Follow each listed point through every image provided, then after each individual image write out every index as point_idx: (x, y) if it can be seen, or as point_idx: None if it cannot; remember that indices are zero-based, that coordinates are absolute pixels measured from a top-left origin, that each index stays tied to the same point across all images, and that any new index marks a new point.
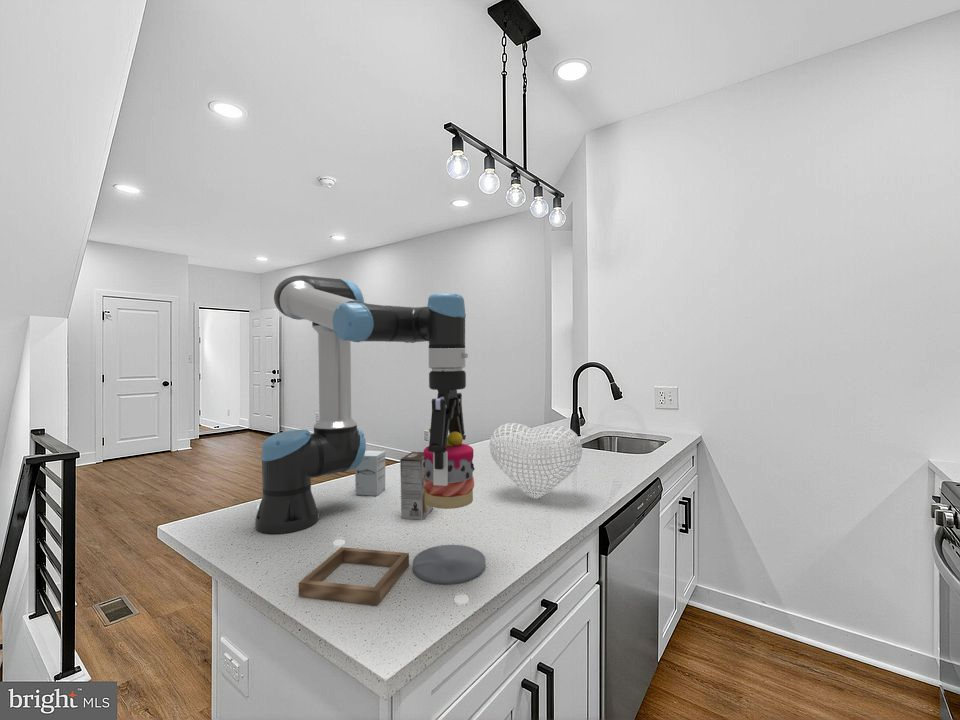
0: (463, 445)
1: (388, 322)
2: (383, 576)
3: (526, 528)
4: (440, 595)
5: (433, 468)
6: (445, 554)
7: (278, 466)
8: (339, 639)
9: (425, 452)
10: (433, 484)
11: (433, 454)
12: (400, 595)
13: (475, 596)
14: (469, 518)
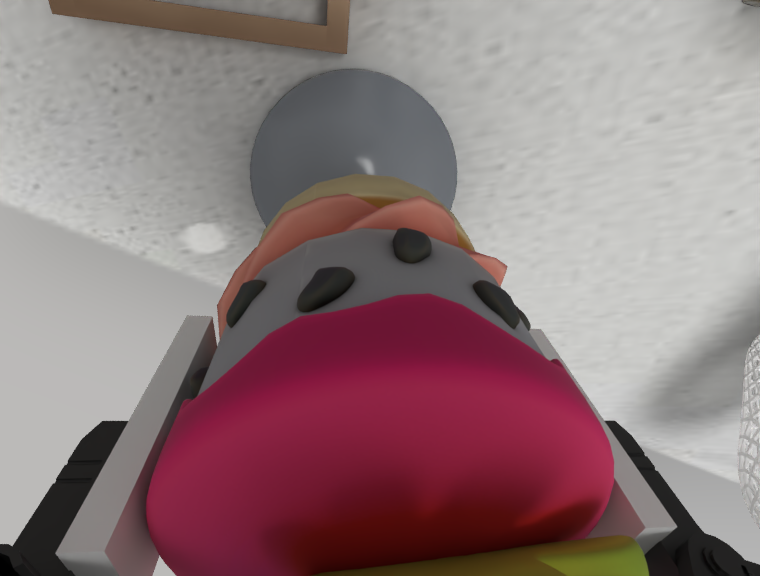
0: None
1: None
2: (153, 2)
3: (565, 329)
4: (202, 189)
5: (140, 400)
6: (391, 170)
7: None
8: None
9: (217, 418)
10: (185, 318)
11: (77, 521)
12: (162, 78)
13: (224, 264)
14: (682, 186)
